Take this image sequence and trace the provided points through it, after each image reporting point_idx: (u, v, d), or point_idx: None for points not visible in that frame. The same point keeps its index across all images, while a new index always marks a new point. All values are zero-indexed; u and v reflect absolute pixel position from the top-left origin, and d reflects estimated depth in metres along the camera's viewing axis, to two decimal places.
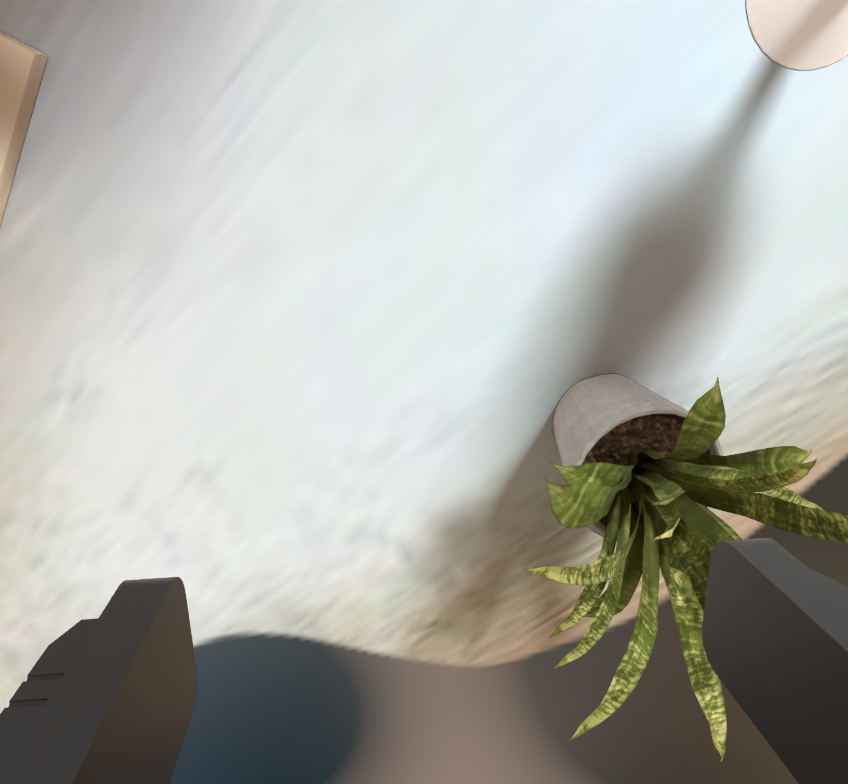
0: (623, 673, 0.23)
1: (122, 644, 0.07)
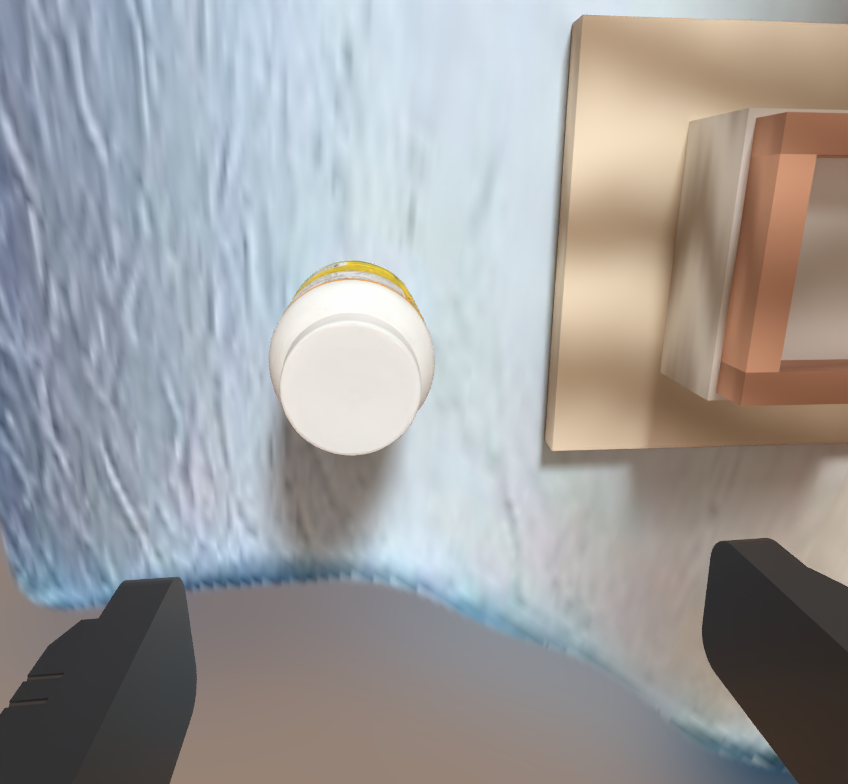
0: None
1: (122, 644, 0.07)
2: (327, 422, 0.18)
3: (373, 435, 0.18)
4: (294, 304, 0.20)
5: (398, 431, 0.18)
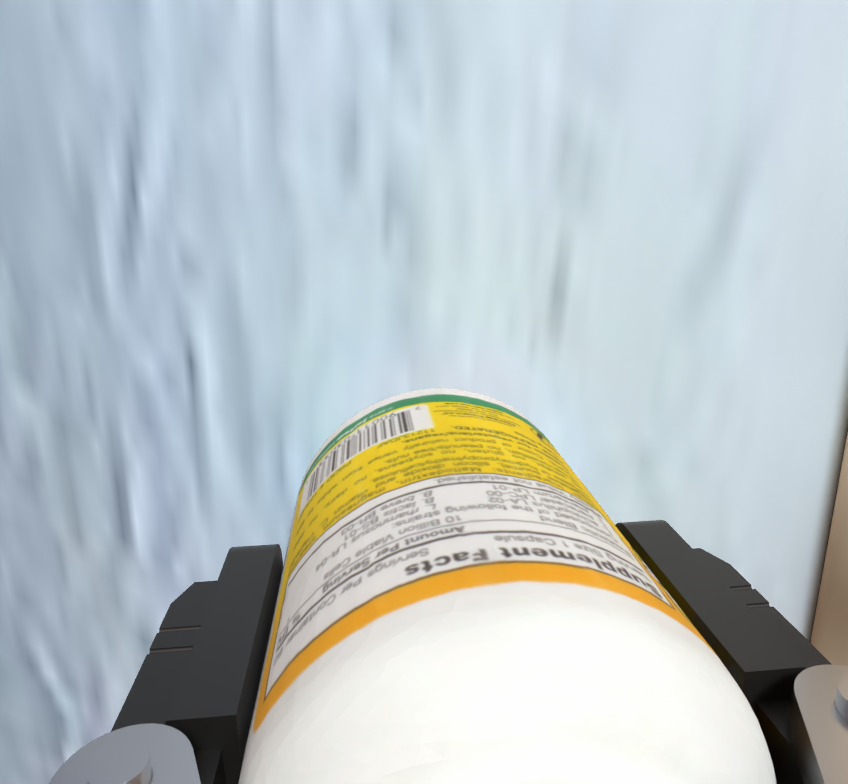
0: None
1: (246, 599, 0.08)
2: None
3: None
4: (315, 692, 0.05)
5: None
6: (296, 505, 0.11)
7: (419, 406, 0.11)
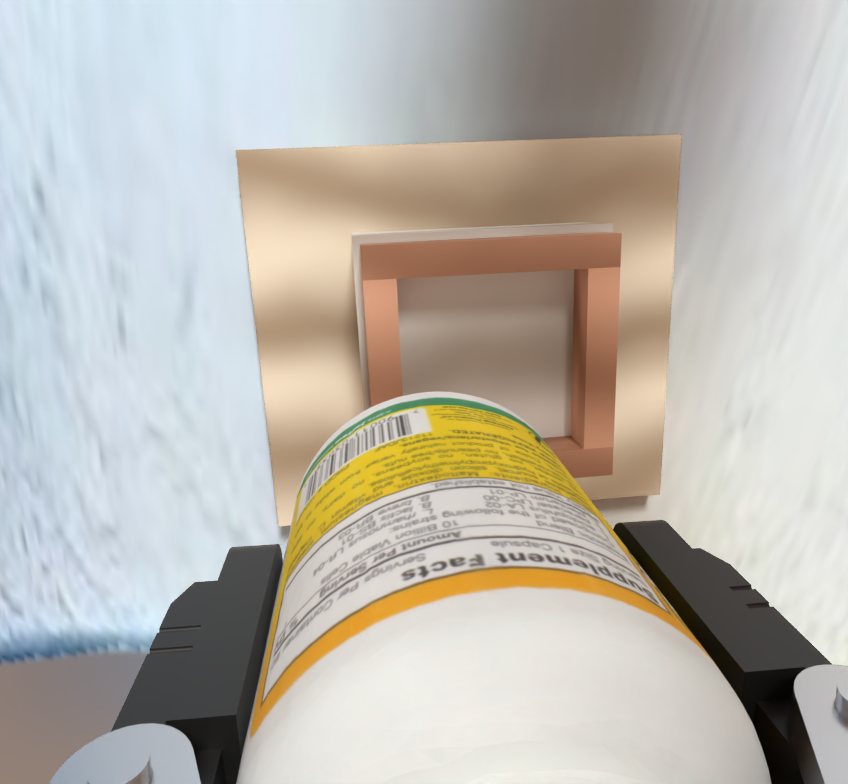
0: None
1: (246, 599, 0.08)
2: None
3: None
4: (312, 698, 0.05)
5: None
6: (294, 508, 0.11)
7: (417, 409, 0.11)
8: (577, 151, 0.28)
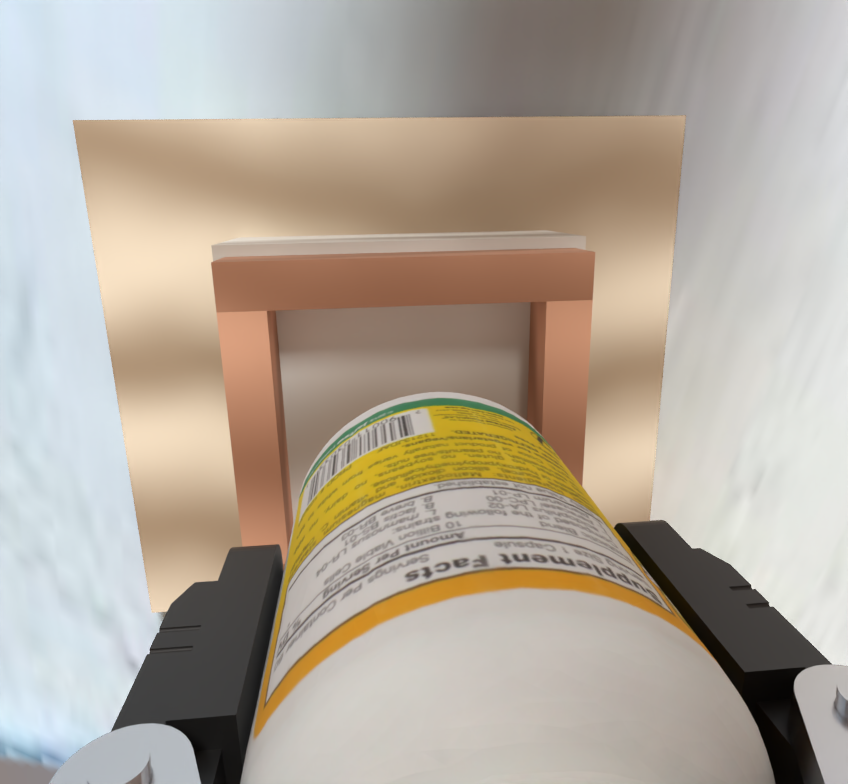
0: None
1: (246, 599, 0.08)
2: None
3: None
4: (316, 699, 0.05)
5: None
6: (296, 509, 0.11)
7: (419, 410, 0.11)
8: (545, 134, 0.21)
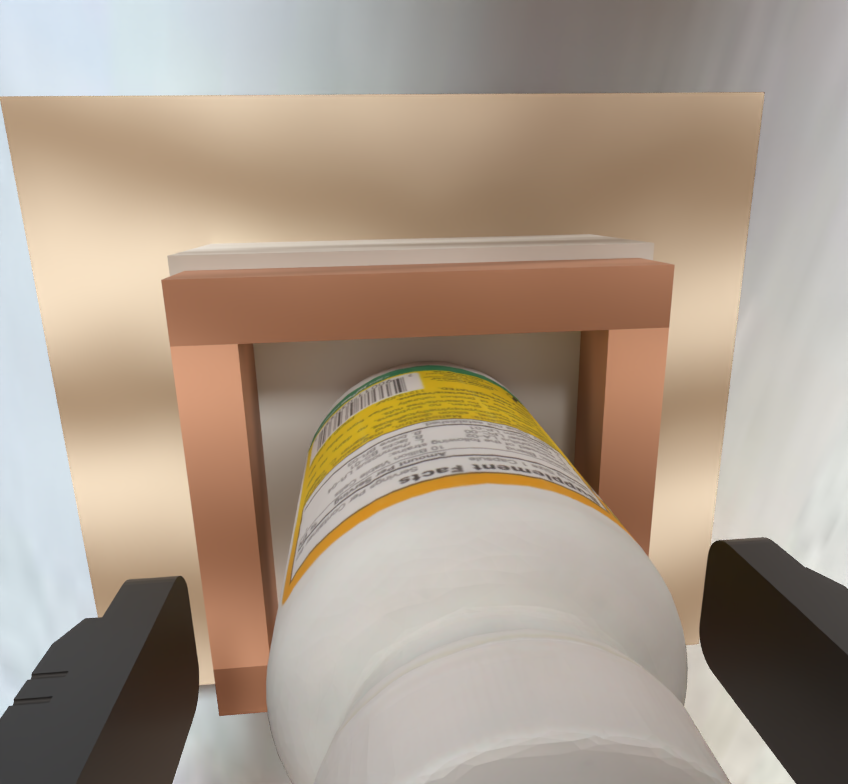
0: None
1: (126, 643, 0.07)
2: None
3: None
4: (332, 563, 0.07)
5: None
6: (306, 460, 0.13)
7: (411, 374, 0.12)
8: (591, 116, 0.17)
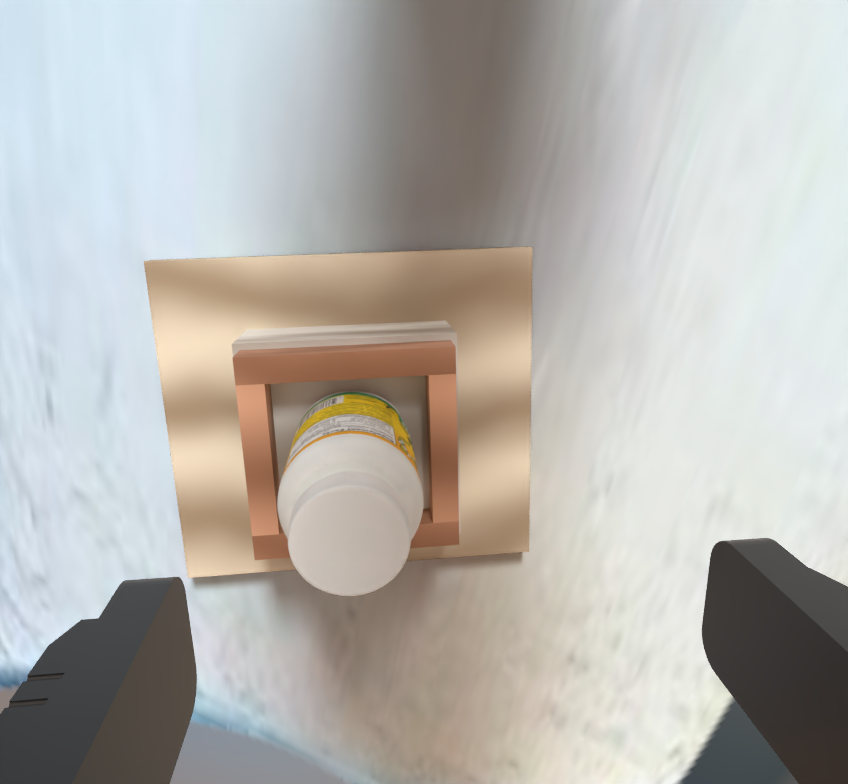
0: None
1: (122, 644, 0.07)
2: (330, 570, 0.21)
3: (370, 578, 0.21)
4: (298, 458, 0.23)
5: (392, 574, 0.21)
6: None
7: (341, 396, 0.28)
8: (441, 261, 0.32)
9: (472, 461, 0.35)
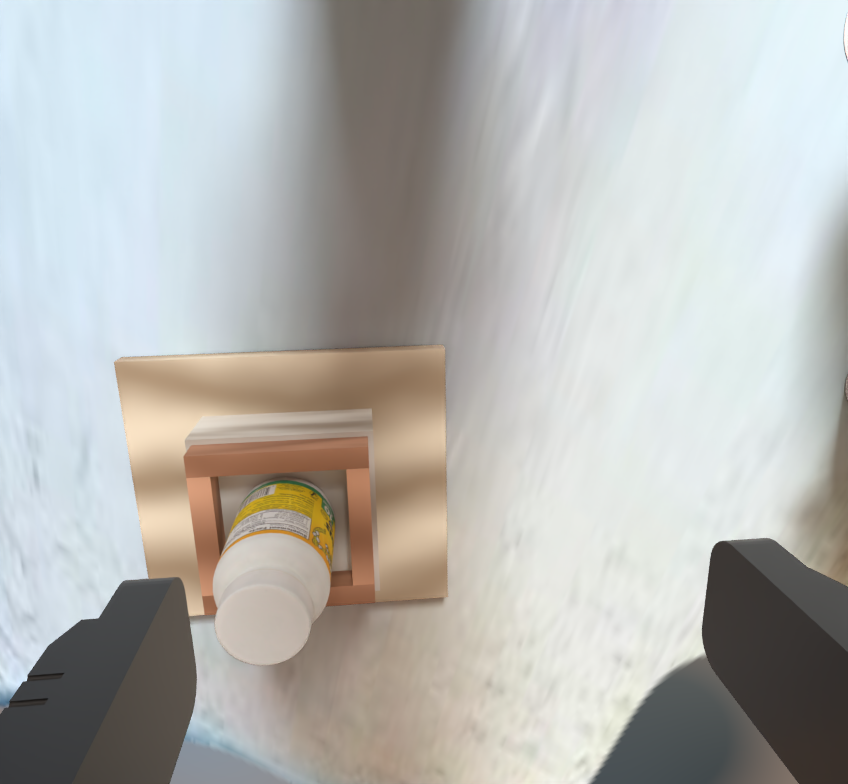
0: None
1: (122, 644, 0.07)
2: (248, 646, 0.27)
3: (279, 652, 0.27)
4: (228, 553, 0.29)
5: (297, 649, 0.27)
6: None
7: (274, 485, 0.34)
8: (367, 360, 0.38)
9: (397, 522, 0.41)
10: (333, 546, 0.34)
